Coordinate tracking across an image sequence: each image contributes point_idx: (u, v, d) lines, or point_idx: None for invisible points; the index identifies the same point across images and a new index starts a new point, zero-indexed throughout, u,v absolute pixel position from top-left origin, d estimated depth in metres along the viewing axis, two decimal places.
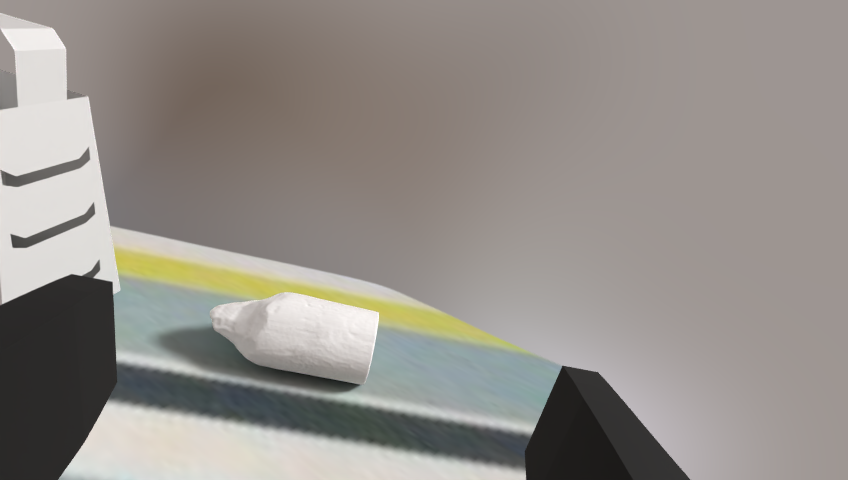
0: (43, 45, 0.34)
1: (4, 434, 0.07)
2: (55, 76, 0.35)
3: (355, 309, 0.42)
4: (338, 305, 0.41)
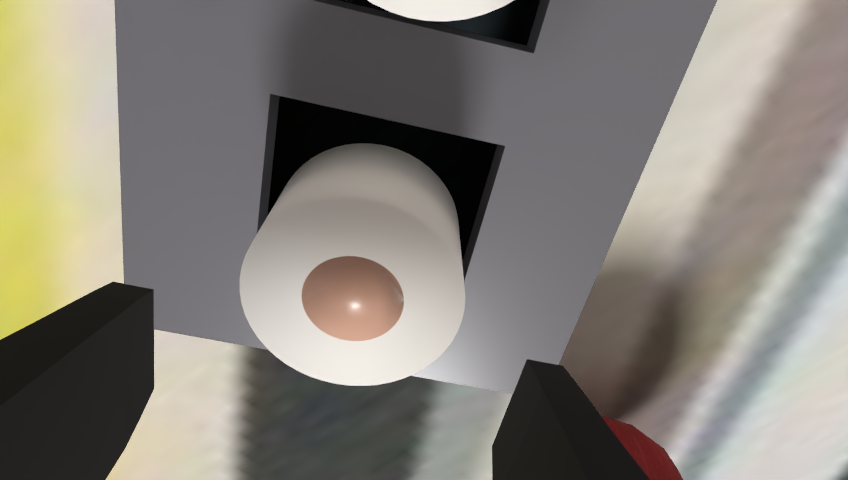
0: None
1: (56, 443, 0.07)
2: None
3: None
4: None
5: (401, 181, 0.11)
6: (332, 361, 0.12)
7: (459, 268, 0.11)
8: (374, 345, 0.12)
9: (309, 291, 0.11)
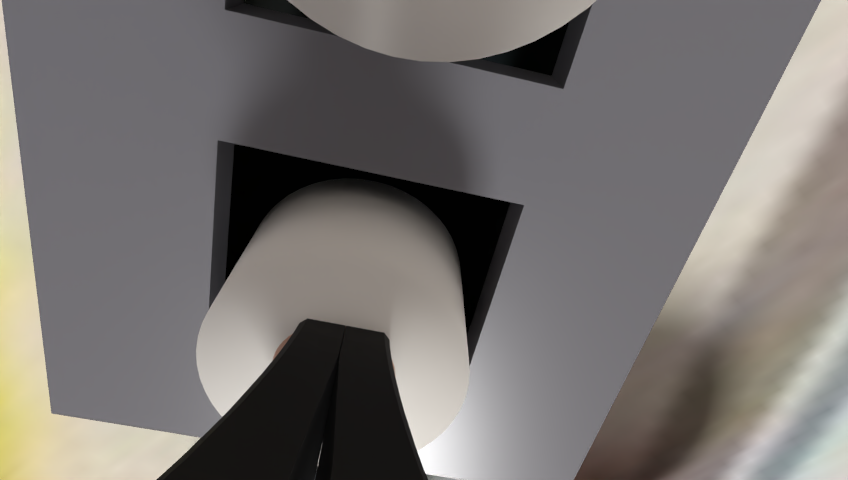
0: None
1: None
2: None
3: None
4: None
5: (393, 230, 0.09)
6: None
7: (462, 338, 0.09)
8: None
9: None
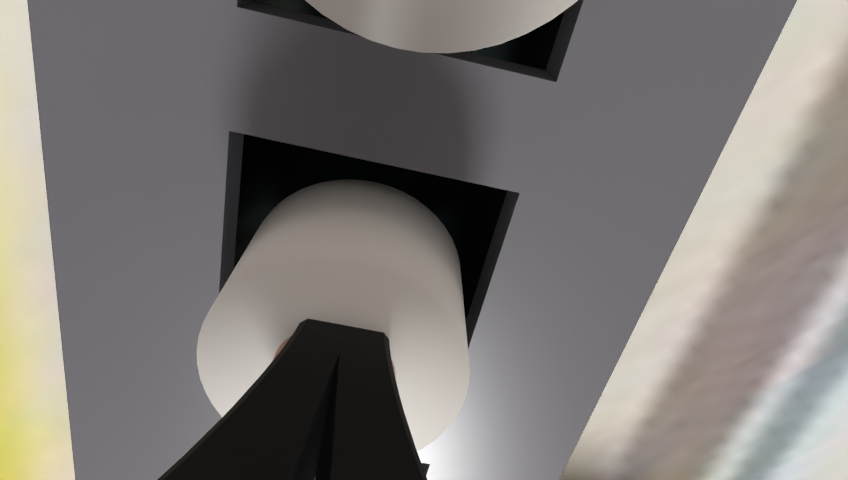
0: None
1: None
2: None
3: None
4: None
5: None
6: None
7: None
8: None
9: None
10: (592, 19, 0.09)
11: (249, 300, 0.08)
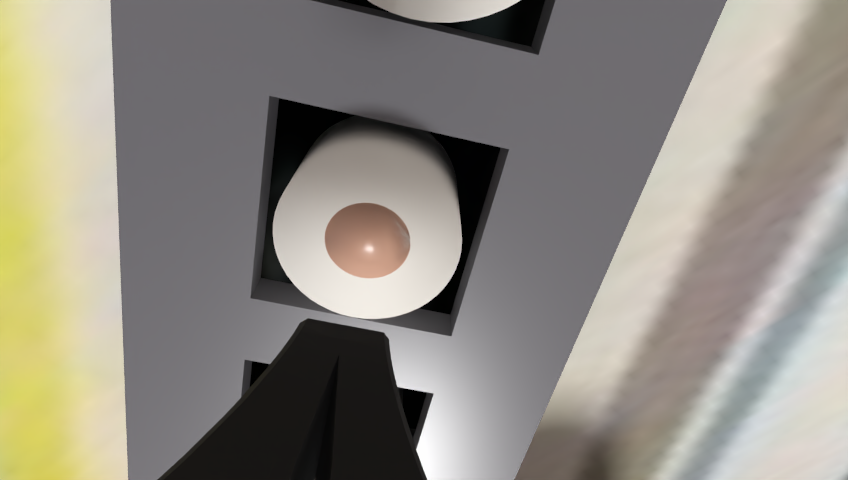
0: None
1: None
2: None
3: None
4: None
5: None
6: None
7: None
8: None
9: None
10: (567, 2, 0.11)
11: (312, 184, 0.12)
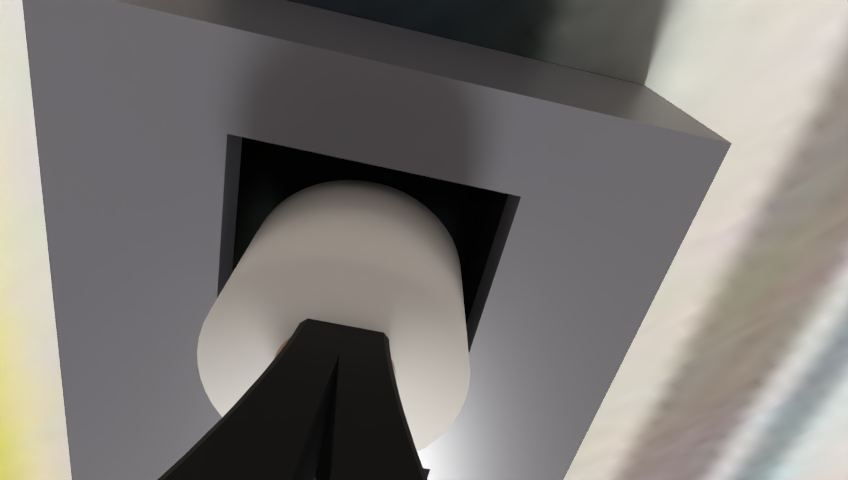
0: None
1: None
2: None
3: None
4: None
5: None
6: None
7: None
8: None
9: None
10: (473, 374, 0.12)
11: None
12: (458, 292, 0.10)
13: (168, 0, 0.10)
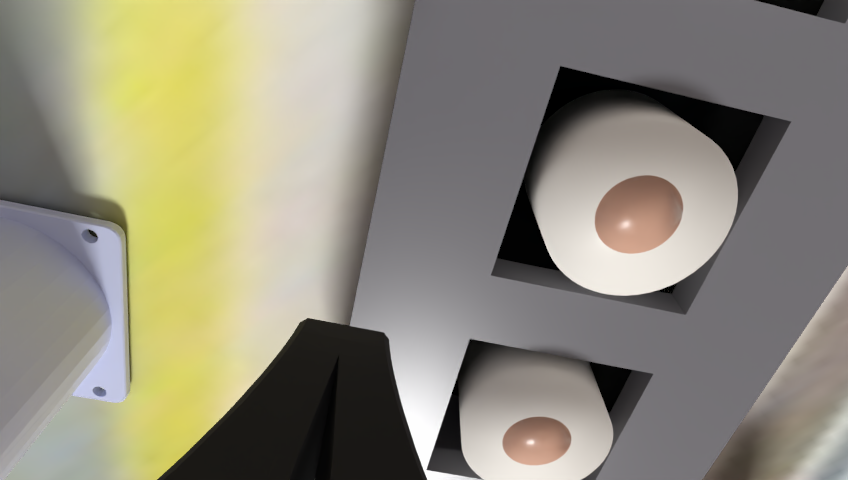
0: None
1: None
2: None
3: None
4: None
5: (568, 360, 0.17)
6: (515, 477, 0.17)
7: (611, 423, 0.16)
8: (545, 468, 0.17)
9: (508, 436, 0.16)
10: None
11: (597, 156, 0.12)
12: None
13: None
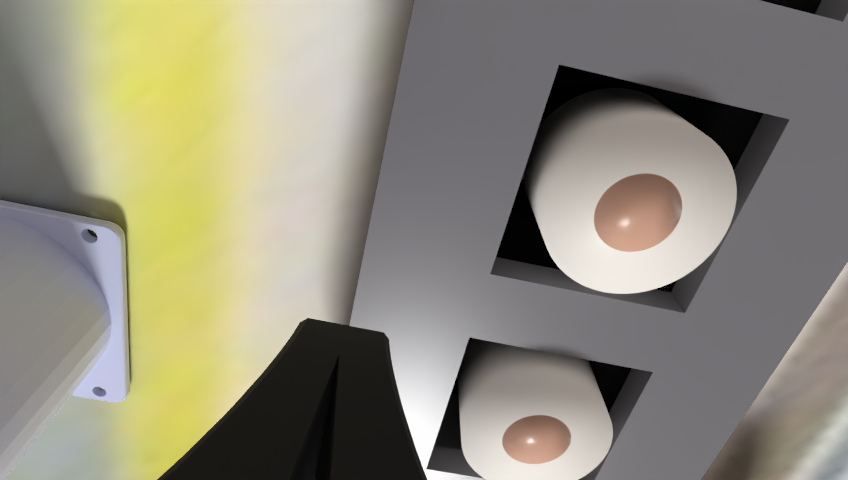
0: None
1: None
2: None
3: None
4: None
5: (567, 359, 0.17)
6: (515, 476, 0.17)
7: (611, 422, 0.16)
8: (545, 466, 0.17)
9: (507, 435, 0.16)
10: None
11: (596, 154, 0.12)
12: None
13: None
